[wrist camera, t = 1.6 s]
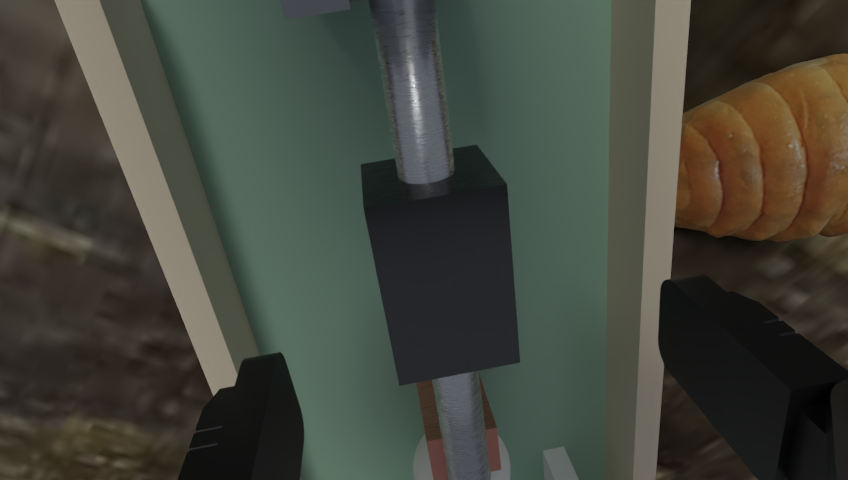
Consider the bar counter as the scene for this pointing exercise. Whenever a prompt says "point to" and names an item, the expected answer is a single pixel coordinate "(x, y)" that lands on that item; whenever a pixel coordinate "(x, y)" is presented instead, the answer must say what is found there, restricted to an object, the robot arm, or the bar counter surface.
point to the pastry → (769, 156)
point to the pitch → (345, 220)
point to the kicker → (439, 248)
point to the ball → (424, 471)
